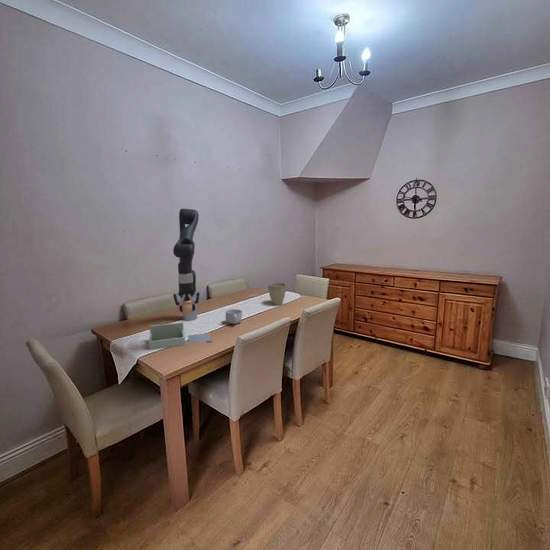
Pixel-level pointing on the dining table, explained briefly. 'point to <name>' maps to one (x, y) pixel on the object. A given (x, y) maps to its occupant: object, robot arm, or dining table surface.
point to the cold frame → (166, 335)
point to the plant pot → (277, 292)
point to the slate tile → (199, 338)
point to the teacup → (233, 316)
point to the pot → (187, 307)
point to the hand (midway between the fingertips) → (187, 311)
